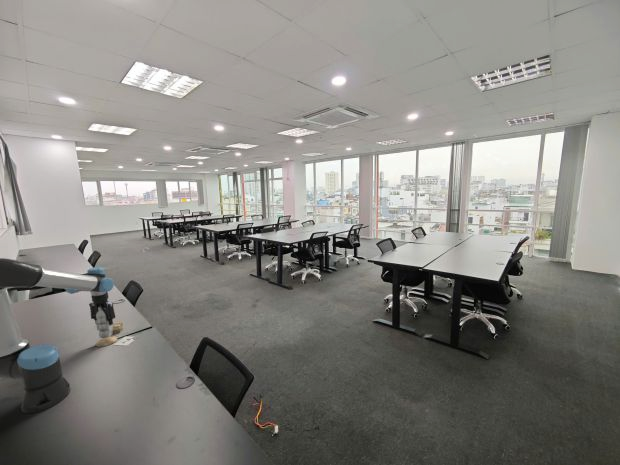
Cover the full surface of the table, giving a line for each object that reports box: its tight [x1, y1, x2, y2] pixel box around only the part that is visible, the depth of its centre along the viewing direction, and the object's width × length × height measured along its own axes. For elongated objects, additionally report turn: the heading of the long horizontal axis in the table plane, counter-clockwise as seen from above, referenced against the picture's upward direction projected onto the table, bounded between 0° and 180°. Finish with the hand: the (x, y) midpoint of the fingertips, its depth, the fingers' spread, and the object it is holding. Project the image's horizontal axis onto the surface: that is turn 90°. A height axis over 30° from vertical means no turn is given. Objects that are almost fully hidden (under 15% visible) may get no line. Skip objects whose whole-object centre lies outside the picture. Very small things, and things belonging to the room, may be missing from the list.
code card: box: [113, 336, 135, 347], centre depth 155 cm, size 9×9×1 cm
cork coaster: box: [95, 336, 118, 348], centre depth 154 cm, size 10×10×1 cm
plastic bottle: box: [96, 307, 113, 339], centre depth 152 cm, size 6×7×20 cm
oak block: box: [112, 321, 124, 335], centre depth 166 cm, size 5×5×5 cm
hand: (105, 329), depth 153 cm, fingers closed on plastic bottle, 6 cm apart
